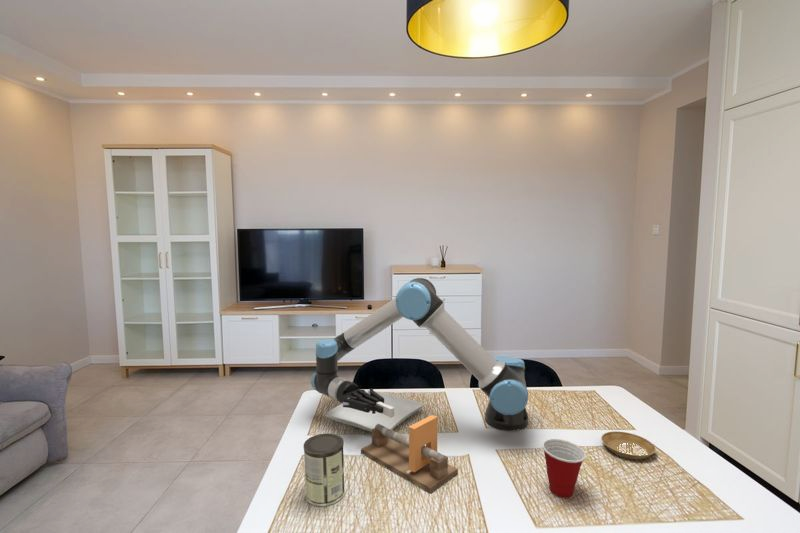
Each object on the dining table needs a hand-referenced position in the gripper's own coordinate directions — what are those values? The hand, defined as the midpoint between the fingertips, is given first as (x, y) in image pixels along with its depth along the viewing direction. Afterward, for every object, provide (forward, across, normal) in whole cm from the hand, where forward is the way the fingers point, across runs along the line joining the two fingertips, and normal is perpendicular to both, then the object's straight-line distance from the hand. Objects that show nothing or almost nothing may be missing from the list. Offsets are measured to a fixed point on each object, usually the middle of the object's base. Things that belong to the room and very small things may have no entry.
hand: (392, 412), depth 126 cm
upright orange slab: (+12, 0, -11) cm, 17 cm away
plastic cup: (+45, -19, -14) cm, 50 cm away
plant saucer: (+51, -53, -14) cm, 75 cm away
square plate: (-23, -14, -14) cm, 31 cm away
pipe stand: (+6, 0, -14) cm, 15 cm away
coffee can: (0, +25, -14) cm, 29 cm away
